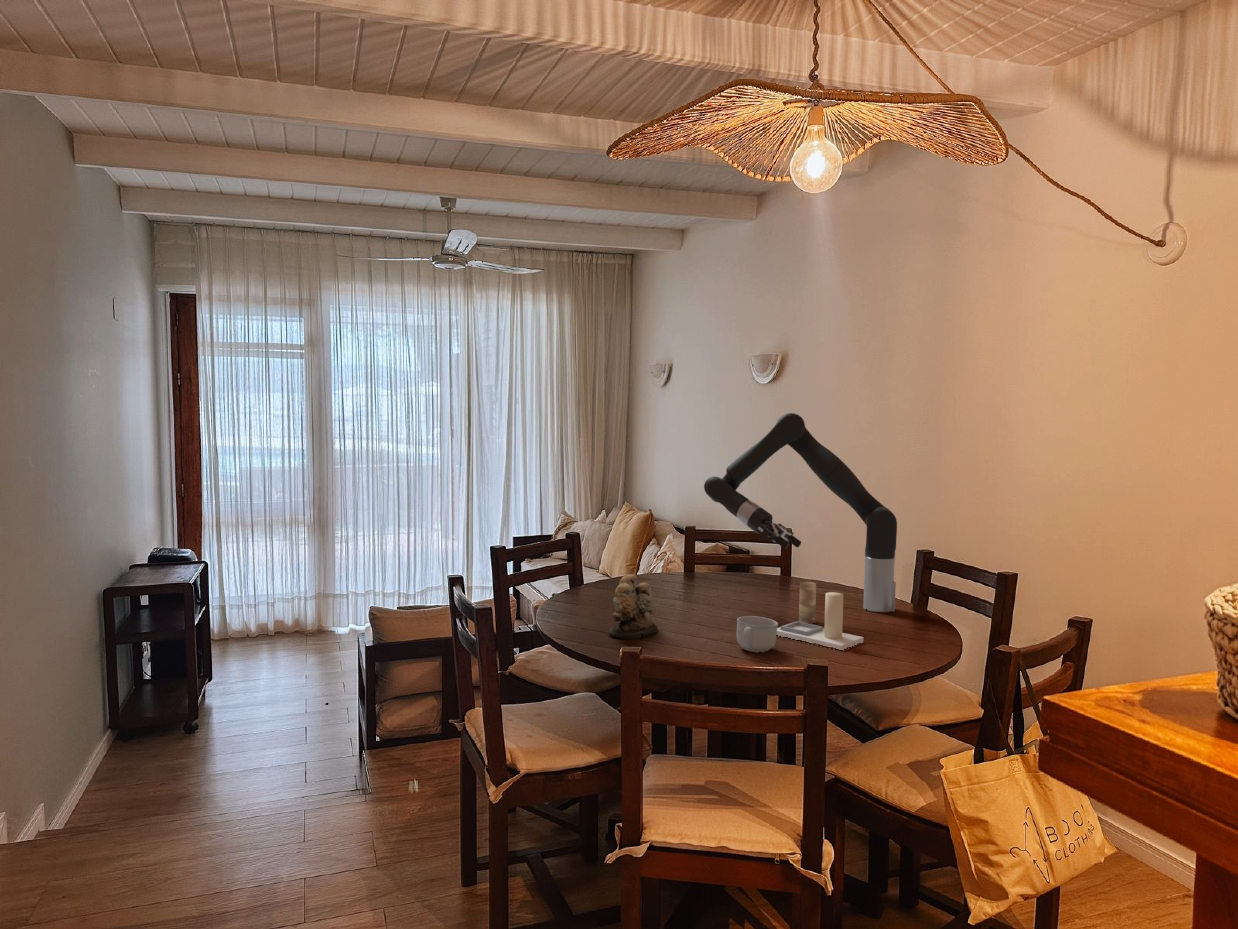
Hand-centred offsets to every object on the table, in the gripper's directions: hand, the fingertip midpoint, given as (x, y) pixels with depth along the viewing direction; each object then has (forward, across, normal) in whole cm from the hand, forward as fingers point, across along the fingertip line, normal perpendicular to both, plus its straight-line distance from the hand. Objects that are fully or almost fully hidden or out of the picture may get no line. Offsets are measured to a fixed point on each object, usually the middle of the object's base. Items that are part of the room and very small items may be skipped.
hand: (793, 545), depth 257 cm
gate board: (+26, -17, +13) cm, 34 cm away
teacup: (+20, -39, +18) cm, 48 cm away
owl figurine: (-10, -46, +36) cm, 59 cm away
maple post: (+17, -2, +17) cm, 24 cm away
